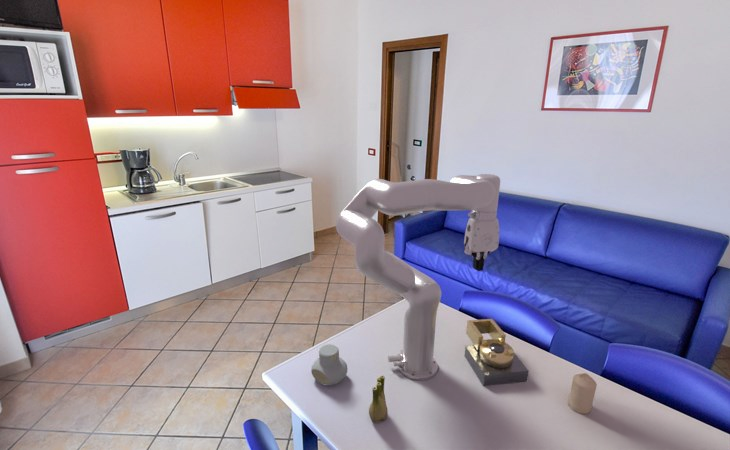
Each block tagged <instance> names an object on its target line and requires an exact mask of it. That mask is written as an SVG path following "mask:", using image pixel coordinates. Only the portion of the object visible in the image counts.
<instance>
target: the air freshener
mask: <svg viewBox="0 0 730 450" xmlns="http://www.w3.org/2000/svg"><path fill="white" fill-rule="evenodd" d="M318 355H319V356H318V358H317V359H316V360H314V362H313V364H312V365H311V375H312V377H313V378H314V379H315V380H316V382H318V383H319V384H321V385H324V386H333V385H336V384H339V383H341V382H342V381H343V380H344V379H345V378H346V375H347V373H348V364H347V362H346V361H345V360H344V359H343V358H342V357H341V356H340V349H339V347H338V346H336V345H335V344H332V343H331V344H324V345H322V346H321V347H320V348H319V351H318Z"/></svg>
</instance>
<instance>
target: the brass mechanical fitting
mask: <svg viewBox="0 0 730 450" xmlns="http://www.w3.org/2000/svg"><path fill="white" fill-rule="evenodd" d="M465 331H466V332H465V333H466V335H467V336H468V338H469V340H470V341H471V343H472V345H474V346H475V347H476V349H477V350H480V351H479V356H480V358H481V360H482V361H483V362H485V363H486V364H488V365H490V366H493V367H498V368H505V367H508V366H510V365H511V364H512V362H513V356H514V355H515V354H516V352H515V351H514V349H513V347H512V346H511V345H510V344H508V343H507V342H506V338H507V337H506V336H507V334H506V333H505V332H504V331H503V329H501V327H500V326H499V324H497V322H496V321H495V320H494V319H493V318H486V319H485V318H482V319H472V320H469V319H467V321H466V329H465ZM483 334H488V335H489V336H490V337H491V339H490V338H489V339H488V338H487V339H484V335H483ZM505 342H506V343H505Z"/></svg>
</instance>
